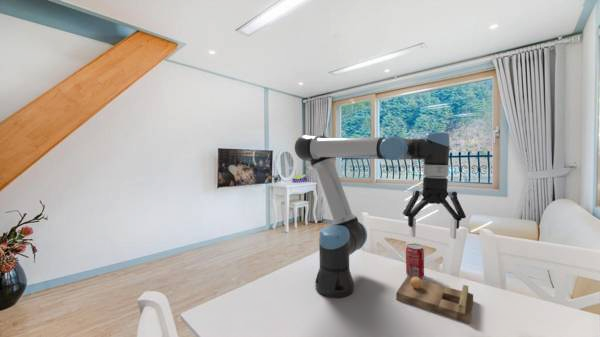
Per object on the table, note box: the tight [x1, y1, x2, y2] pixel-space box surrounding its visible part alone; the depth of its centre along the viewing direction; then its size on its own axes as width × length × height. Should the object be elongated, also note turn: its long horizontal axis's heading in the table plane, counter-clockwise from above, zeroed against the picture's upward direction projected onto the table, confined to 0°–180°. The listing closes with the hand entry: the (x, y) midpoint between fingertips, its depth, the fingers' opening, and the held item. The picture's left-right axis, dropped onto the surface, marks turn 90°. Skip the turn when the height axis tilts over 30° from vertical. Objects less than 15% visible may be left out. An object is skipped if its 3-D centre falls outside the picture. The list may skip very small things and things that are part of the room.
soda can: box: [405, 243, 425, 280], centre depth 106 cm, size 7×7×13 cm
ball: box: [410, 277, 423, 289], centre depth 91 cm, size 4×4×4 cm
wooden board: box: [395, 275, 474, 324], centre depth 88 cm, size 22×15×5 cm
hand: (432, 236), depth 87 cm, fingers open, 13 cm apart
